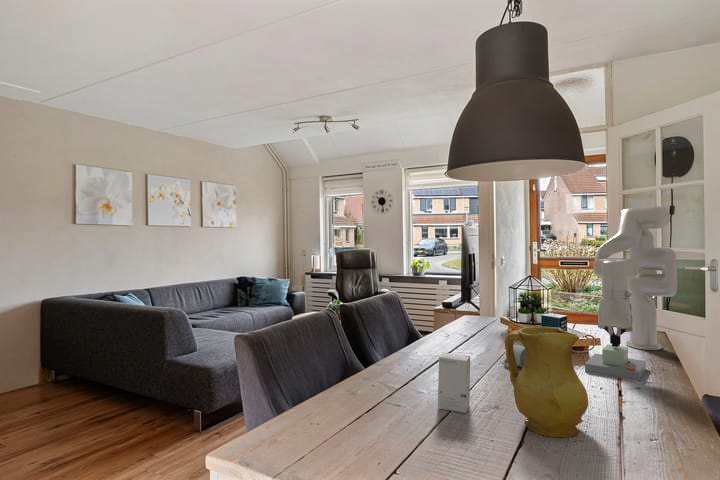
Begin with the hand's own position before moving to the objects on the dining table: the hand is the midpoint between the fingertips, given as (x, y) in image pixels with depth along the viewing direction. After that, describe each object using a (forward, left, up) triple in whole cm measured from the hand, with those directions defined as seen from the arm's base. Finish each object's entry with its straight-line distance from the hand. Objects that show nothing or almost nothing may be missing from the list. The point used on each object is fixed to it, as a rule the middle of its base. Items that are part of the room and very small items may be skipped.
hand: (615, 346), depth 149 cm
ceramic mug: (+16, -29, -9) cm, 34 cm away
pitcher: (+59, -5, -9) cm, 60 cm away
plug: (0, 0, -9) cm, 9 cm away
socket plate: (0, 0, -9) cm, 9 cm away
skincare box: (+64, -29, -9) cm, 71 cm away
